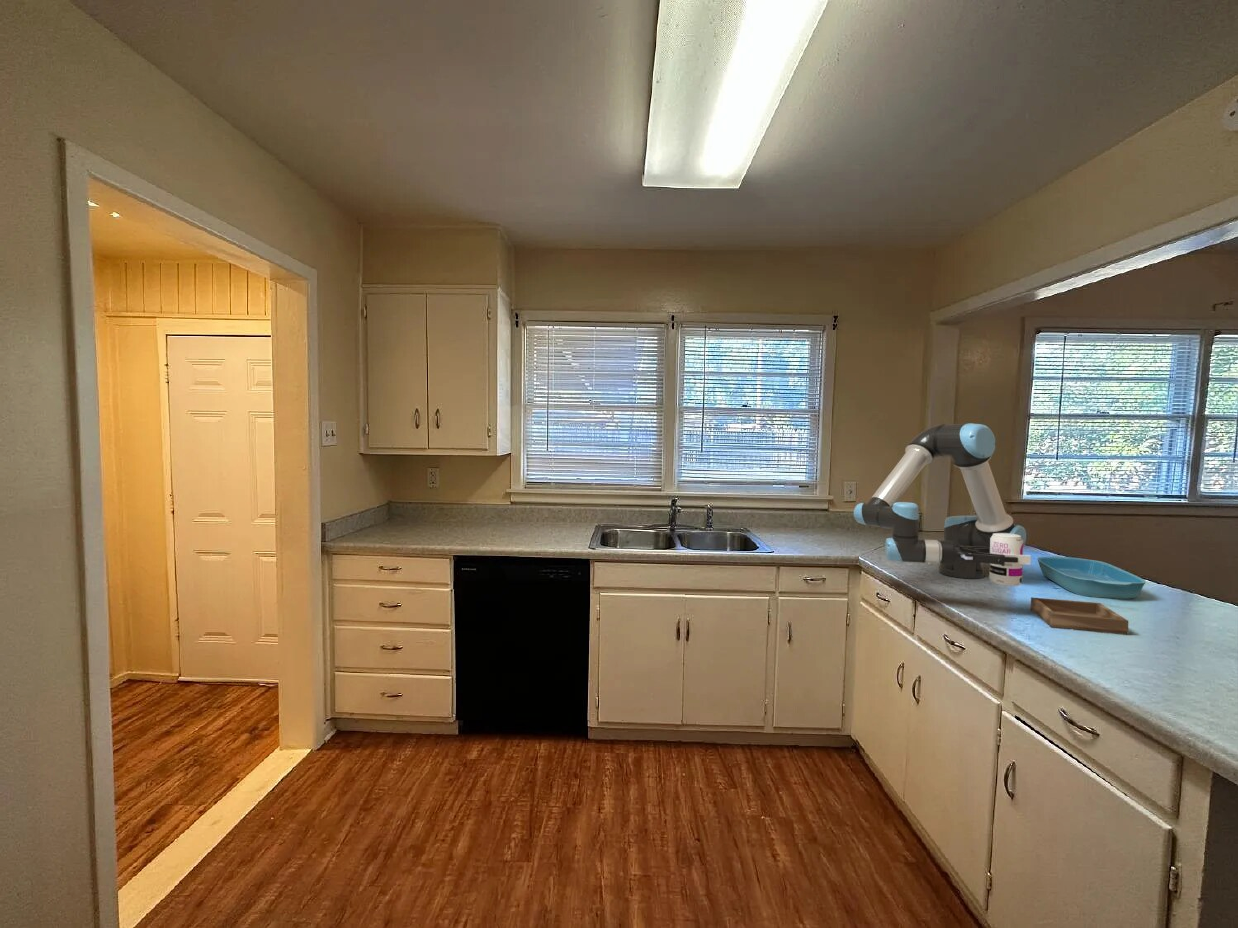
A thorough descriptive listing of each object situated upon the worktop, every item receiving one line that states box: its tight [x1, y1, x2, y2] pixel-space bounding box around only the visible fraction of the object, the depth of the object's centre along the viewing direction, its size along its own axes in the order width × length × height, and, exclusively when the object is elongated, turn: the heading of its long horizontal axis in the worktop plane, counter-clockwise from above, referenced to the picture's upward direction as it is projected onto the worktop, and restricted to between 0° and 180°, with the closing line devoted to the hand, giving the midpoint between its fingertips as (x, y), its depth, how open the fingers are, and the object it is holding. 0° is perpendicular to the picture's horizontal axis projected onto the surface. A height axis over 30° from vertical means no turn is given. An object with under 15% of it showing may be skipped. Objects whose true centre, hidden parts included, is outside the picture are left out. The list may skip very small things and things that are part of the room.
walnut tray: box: [1030, 597, 1129, 636], centre depth 153 cm, size 16×17×4 cm
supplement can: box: [988, 533, 1024, 587], centre depth 162 cm, size 8×8×15 cm
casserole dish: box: [1037, 555, 1147, 600], centre depth 187 cm, size 37×22×7 cm, turn 161°
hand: (1024, 556), depth 160 cm, fingers closed on supplement can, 8 cm apart
